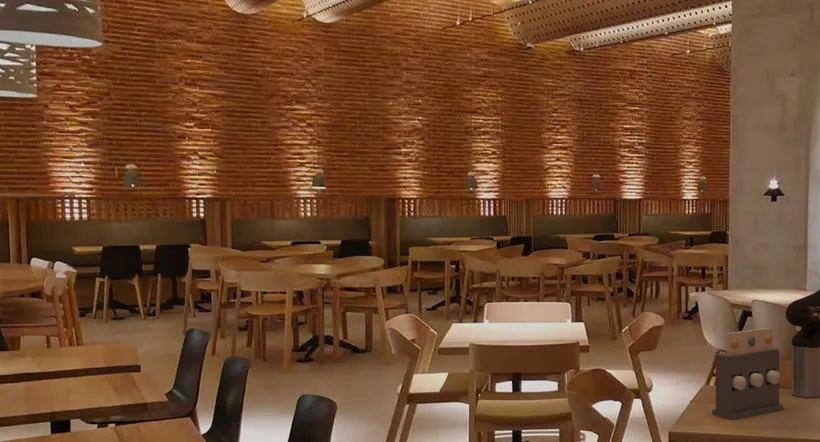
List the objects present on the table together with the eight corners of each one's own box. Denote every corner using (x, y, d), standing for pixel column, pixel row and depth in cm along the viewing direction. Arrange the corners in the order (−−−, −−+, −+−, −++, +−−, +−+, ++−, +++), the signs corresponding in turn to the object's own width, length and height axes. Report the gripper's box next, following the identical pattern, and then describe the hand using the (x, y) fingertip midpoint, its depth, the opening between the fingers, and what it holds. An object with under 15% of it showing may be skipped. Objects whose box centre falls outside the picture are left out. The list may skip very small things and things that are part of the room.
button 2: (772, 381, 280) (772, 368, 280) (780, 383, 278) (780, 370, 278) (763, 383, 278) (763, 370, 278) (771, 384, 276) (771, 371, 276)
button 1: (738, 387, 273) (738, 374, 273) (746, 389, 270) (746, 376, 270) (729, 389, 271) (729, 375, 271) (737, 390, 268) (737, 377, 268)
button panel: (762, 404, 286) (762, 346, 286) (783, 409, 279) (783, 349, 279) (712, 414, 275) (711, 353, 274) (732, 419, 268) (732, 357, 267)
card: (771, 348, 281) (770, 327, 281) (773, 349, 280) (773, 328, 280) (726, 355, 271) (726, 333, 271) (729, 356, 270) (729, 333, 270)
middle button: (755, 384, 277) (755, 371, 276) (763, 386, 274) (763, 373, 274) (746, 386, 275) (746, 373, 274) (754, 387, 272) (754, 374, 272)
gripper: (868, 301, 256) (816, 296, 271) (839, 304, 249) (787, 299, 264) (868, 326, 256) (816, 319, 271) (839, 330, 249) (787, 323, 265)
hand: (802, 309), depth 268 cm, fingers closed
